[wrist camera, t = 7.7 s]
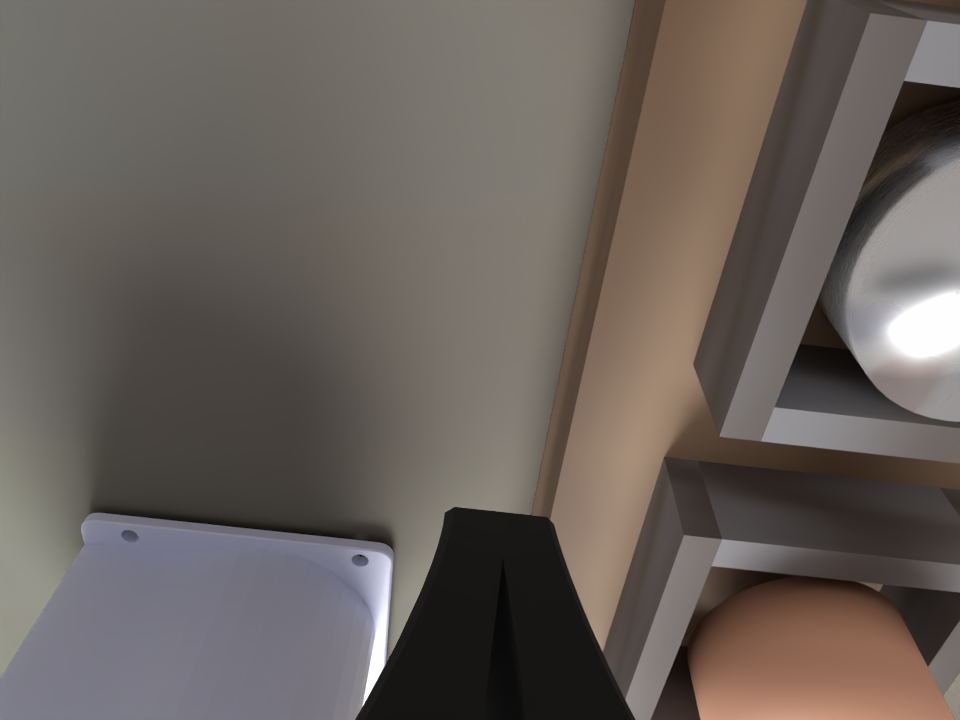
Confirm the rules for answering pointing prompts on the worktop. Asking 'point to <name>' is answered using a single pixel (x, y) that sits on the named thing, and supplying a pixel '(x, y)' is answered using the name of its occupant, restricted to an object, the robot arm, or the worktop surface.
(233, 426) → the worktop surface
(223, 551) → the robot arm
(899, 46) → the press panel
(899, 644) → the terracotta plunger
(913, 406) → the steel plunger
